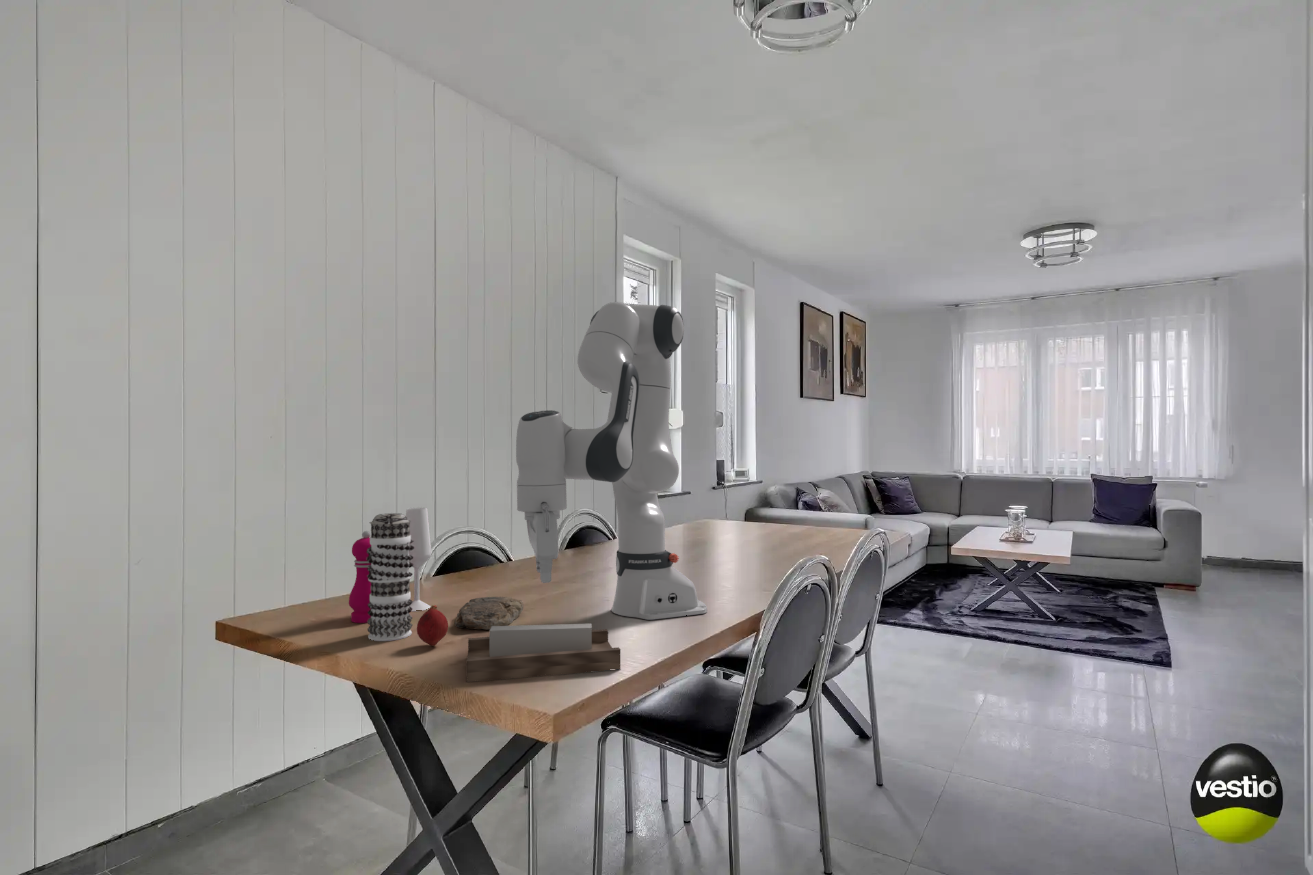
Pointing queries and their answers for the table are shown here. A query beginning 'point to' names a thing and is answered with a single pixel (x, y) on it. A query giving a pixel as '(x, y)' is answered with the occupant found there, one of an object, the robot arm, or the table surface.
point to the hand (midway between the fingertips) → (543, 576)
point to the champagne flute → (419, 548)
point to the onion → (432, 626)
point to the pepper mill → (361, 581)
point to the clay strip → (539, 639)
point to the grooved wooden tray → (540, 660)
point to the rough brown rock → (488, 612)
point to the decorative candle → (390, 577)
